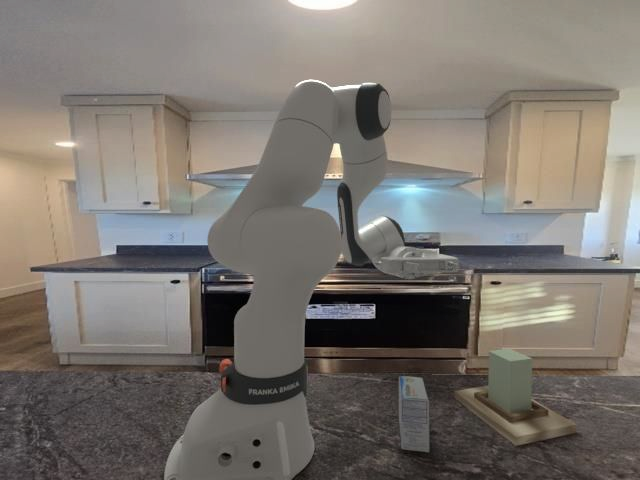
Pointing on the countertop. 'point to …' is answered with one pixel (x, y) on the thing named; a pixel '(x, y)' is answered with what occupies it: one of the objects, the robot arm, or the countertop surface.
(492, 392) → the sage block
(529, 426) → the birch board
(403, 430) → the medicine box
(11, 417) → the countertop surface
